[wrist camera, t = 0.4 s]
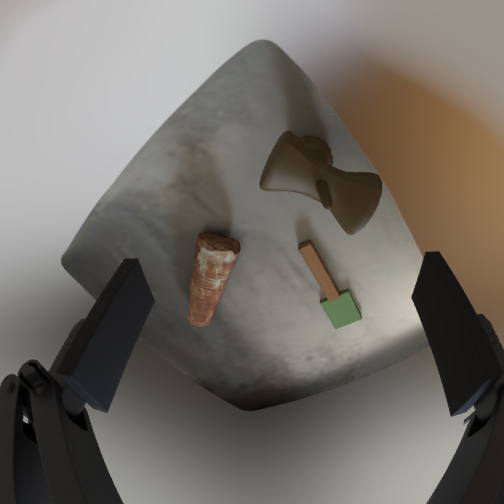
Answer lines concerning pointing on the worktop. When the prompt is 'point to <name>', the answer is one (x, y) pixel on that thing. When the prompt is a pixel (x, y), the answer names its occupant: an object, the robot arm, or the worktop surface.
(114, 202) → the worktop surface
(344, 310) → the spatula
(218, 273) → the reddish brown tapered cylinder
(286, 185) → the kendama
